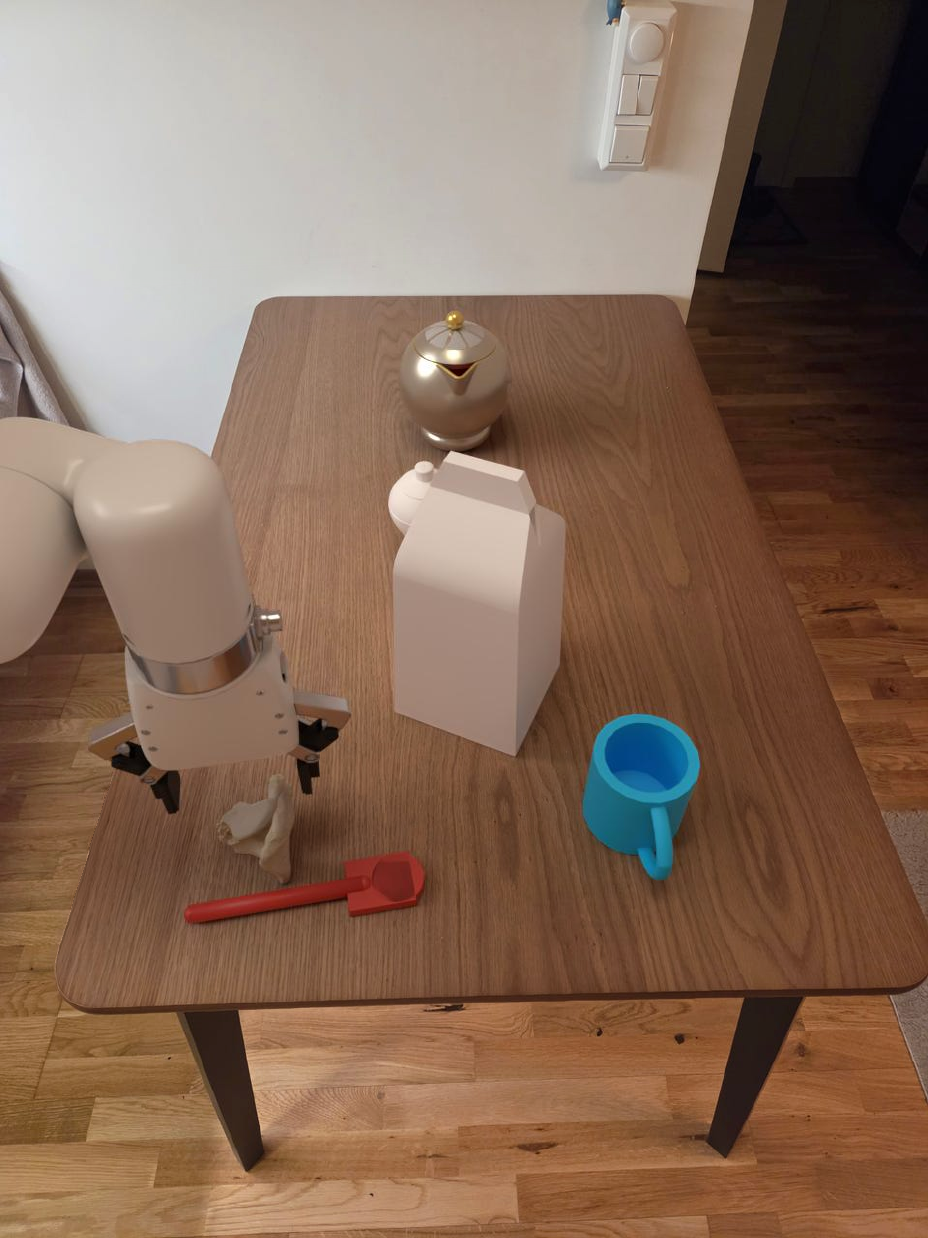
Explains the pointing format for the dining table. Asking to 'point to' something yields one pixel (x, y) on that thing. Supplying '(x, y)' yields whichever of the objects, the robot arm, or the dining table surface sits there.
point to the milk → (478, 604)
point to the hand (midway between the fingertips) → (241, 787)
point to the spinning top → (410, 494)
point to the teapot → (455, 382)
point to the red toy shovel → (333, 890)
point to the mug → (640, 788)
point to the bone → (263, 828)
